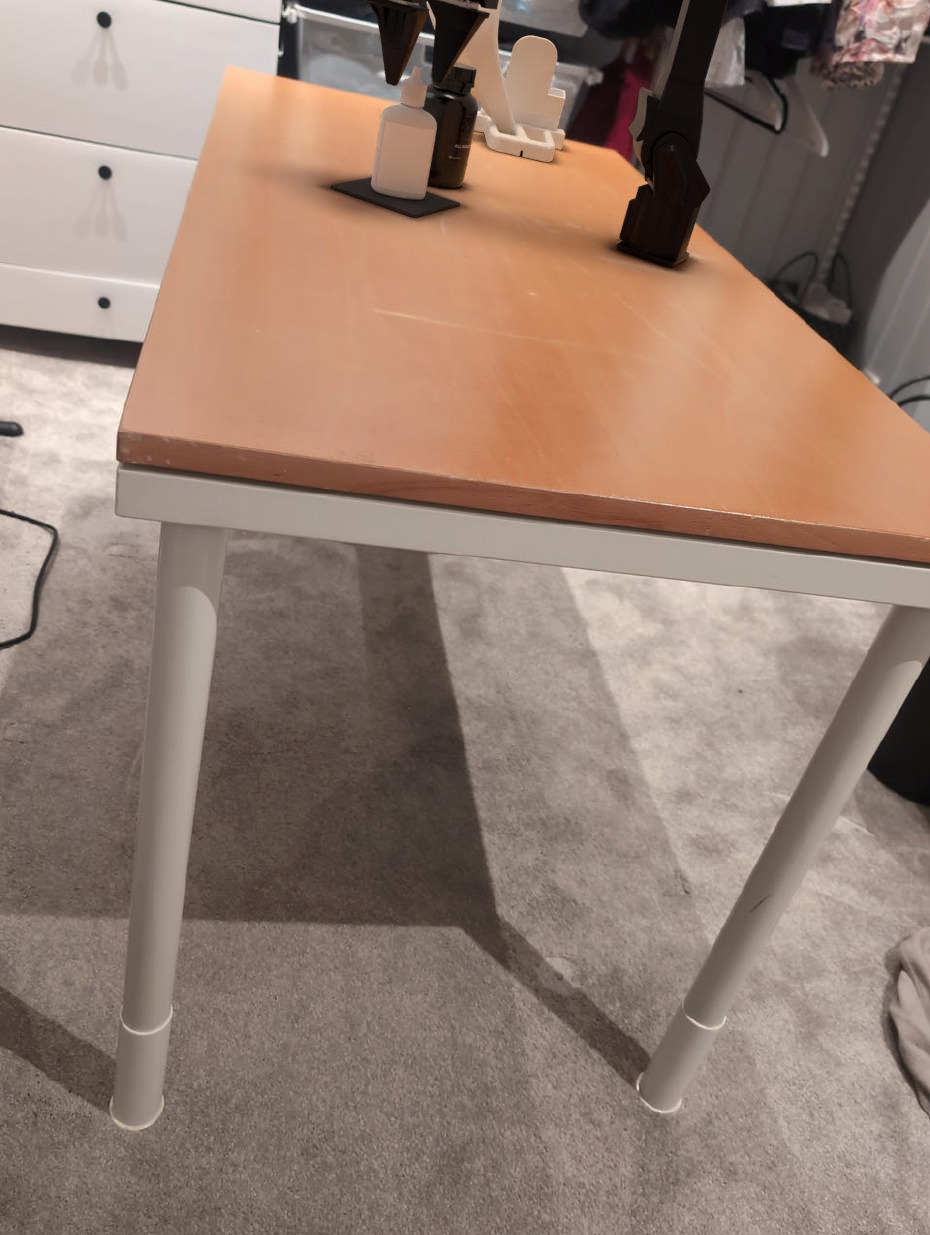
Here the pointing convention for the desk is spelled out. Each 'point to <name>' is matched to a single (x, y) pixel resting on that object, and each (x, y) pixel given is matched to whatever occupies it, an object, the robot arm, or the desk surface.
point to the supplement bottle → (452, 125)
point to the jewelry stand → (515, 92)
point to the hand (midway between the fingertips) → (415, 83)
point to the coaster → (395, 199)
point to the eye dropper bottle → (405, 144)
